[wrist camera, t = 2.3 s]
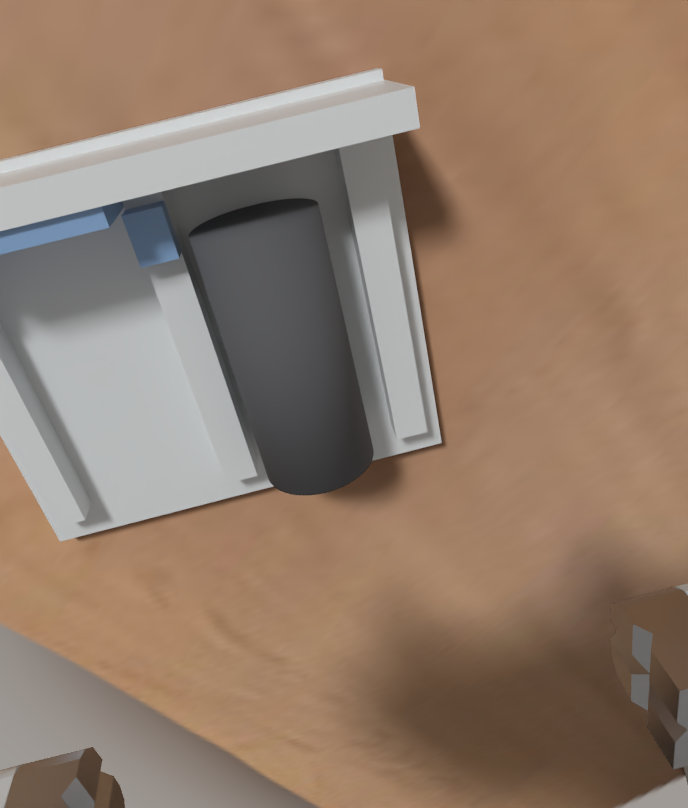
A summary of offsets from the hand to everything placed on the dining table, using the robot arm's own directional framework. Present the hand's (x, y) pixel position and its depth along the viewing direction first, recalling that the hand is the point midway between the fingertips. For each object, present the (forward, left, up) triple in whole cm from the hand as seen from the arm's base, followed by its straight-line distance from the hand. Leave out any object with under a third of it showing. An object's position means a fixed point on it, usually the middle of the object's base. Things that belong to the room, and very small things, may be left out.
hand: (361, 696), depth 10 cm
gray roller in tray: (0, 0, -16) cm, 16 cm away
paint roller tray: (0, +3, -16) cm, 17 cm away
